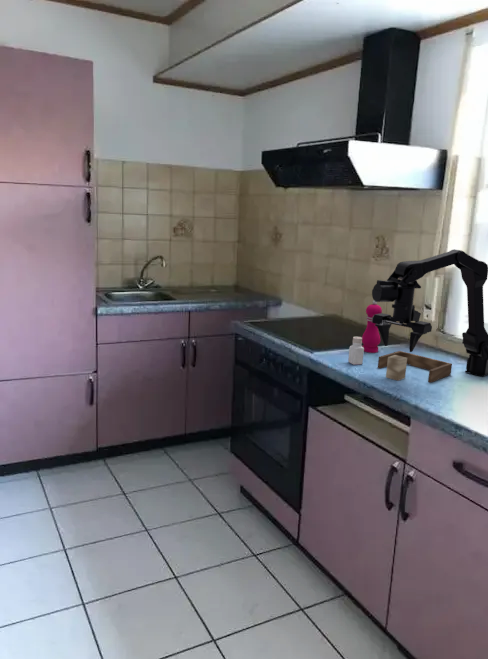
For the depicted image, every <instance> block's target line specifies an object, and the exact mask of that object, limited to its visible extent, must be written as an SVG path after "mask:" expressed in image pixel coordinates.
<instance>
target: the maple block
mask: <svg viewBox="0 0 488 659" xmlns="http://www.w3.org/2000/svg"><path fill="white" fill-rule="evenodd" d="M407 365H408V364H407V358H406V357H402V356H398V355H393V356H390V357H388V362H387V367H386V371H385V378H387V379H391V380H395V381H398V382H399V381H401V380H404V379H406V373H407Z"/></svg>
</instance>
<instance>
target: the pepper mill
mask: <svg viewBox="0 0 488 659" xmlns="http://www.w3.org/2000/svg"><path fill="white" fill-rule="evenodd" d="M371 302H372V304H369V305H367V306H366V309H365V312H366V315H367V316H366V321H367V323H366V328H365V330H364V332H363V334H362V336H361V337H362V344H363V345H362V344H361V346H362V347H363V348H364V353H370V354H375V353H376V354H377V353H378V352H379V346H378V345H379V344H380V343H381V334H380V332H379V330H378V328H377V326H375V323H372V317H373V316H374V315H375V314H380V313H383V309H382V307H381V306H380V305H379V304H378V302H375V301H374V300H373V301H371Z"/></svg>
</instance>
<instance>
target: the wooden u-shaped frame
mask: <svg viewBox="0 0 488 659" xmlns="http://www.w3.org/2000/svg"><path fill="white" fill-rule="evenodd" d="M393 355H398V356H402V357H406V358H407V365H408V366H411V367H416V368H419V369H423V370H427V371H428V378H427V382H428V383H430V384H431V383H434V382H436V381H439V380H441V379H443V378H447V377H449V376H451V374H452V367H453V364H452V362H447V361H443V360H439V359H435V358H430V357H426V356H423V355H420V354H419V355H418V354H415V353H412V352H406V351H403V350H398V351H395V352H394V351H393V352H391V353H387V354H384V355H381V356H378V361H377V369H383V368H387V362H388V357H390V356H393Z"/></svg>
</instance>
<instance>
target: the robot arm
mask: <svg viewBox="0 0 488 659" xmlns="http://www.w3.org/2000/svg"><path fill="white" fill-rule="evenodd" d="M453 265H454V266H455V268H457V269H458V270H460V274H461V279H462V281H463V282H464V285H465V286H466V294H467V296H466V297H467V299H466V300H467V320H468V321H467V322H468V327H467V330H466V331H465V332H462V334H461V336H462V342H461V344H463V346H464V348H465V352H466V354H469V355H468V358H467V359H466V365H465V366H466V367H465V370H464V373H466V374H470V375H473V376H474V375H475V376H478V377H486V376H488V332H487V330H486V327H485V314H484V313H485V311H484V310H485V308H484V285H485V284H486V281H487V280H488V263H486V262H485V261H481V260H479V259H477V258H475V257H473V256H471V255H469V254H468V253H467V252H465V251H463V250H461V249H451V250H449V251H447V252H443V253H440V254H437V255H433V256H430V257H427V258H424V259H421V260H419V259H418V260H407V261H401V262H398V263H397V264H396V266H395V269H394V270H393V271H392V273H391V274H390V276H389V277H388V278H387V279H386V280H381V279H376V284H374V286H373V287H372V289H371V295H372V299H373V301H375V302H377V303H391V302H394V303H392V304H391V308H393V311H392V312H393V313H392V315H391V314H388V313H383V312H382V313H380V314H375V315H374V316H373V317H372V323H375V326H377V328H378V331H379V334H380V338H381V339H382V342H383V345H384V347H386V346H388V344H389V337H390V328H391V327H392V325H396V326H401V327H404V328H409V329H411V330H412V331H411V332H410V334H409V347H408V350H409V353H413V351H414V349H415V347H416V346H417V343H418V341H419V340H420V338H421V337H422V336H423V335H426V334H428V333H431V332H432V331H433V330H432V329H433V325H432V323H431V322H427V321H423V320H420V319H421V316H422V312H419V311H418V310H416V309H415V308H416V305H415V304H414V296H415V289H421V288H422V286H421V285H420V284H419V283H418V281H419V280H420V279H422V278H423V277H425V275H426V274H428V273H431V272H434V271H438V270H440V269H443V268H446V267H449V266H453ZM417 280H418V281H417Z"/></svg>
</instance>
